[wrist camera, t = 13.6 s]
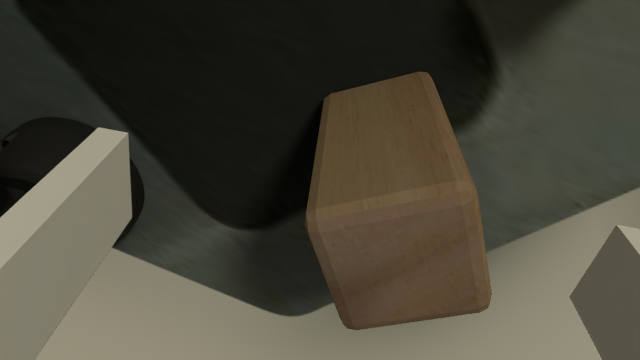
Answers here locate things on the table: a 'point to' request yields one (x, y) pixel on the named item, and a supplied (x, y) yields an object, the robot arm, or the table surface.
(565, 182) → the table surface
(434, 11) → the table surface
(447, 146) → the wooden block
